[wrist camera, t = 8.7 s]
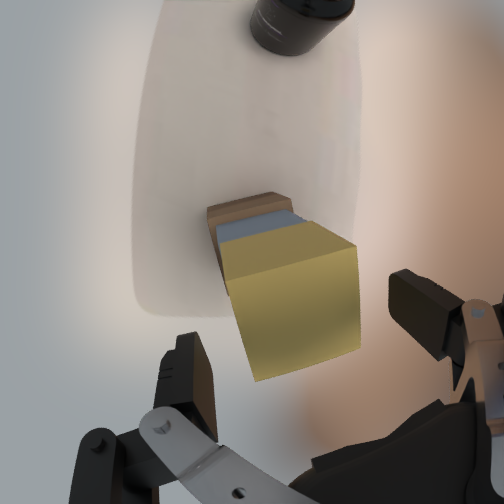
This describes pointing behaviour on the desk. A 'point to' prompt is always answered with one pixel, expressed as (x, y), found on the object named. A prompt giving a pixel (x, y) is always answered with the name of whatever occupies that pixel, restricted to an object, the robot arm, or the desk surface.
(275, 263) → the top block
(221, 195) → the desk surface
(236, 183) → the desk surface
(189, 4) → the desk surface
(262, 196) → the tower base
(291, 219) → the tower mid
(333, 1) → the supplement bottle
